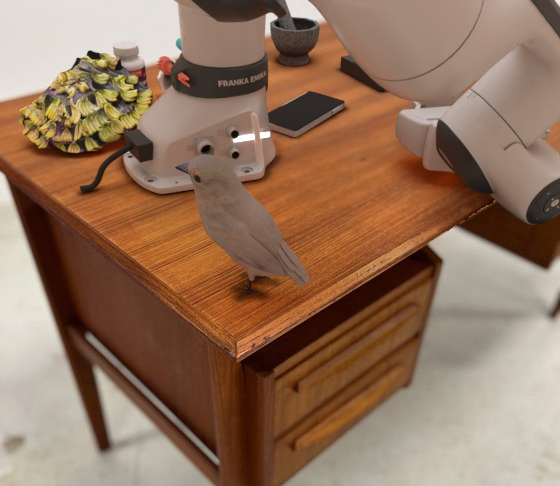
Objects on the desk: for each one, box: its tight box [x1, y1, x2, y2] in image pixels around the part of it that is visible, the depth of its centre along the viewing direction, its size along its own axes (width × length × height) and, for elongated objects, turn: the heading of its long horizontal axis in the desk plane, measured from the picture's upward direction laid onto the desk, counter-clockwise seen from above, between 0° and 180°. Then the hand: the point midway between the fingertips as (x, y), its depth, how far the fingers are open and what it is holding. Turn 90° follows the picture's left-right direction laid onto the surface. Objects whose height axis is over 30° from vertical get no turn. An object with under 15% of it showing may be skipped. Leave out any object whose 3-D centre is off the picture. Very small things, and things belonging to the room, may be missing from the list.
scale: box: [339, 54, 386, 93], centre depth 111 cm, size 15×13×4 cm
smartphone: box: [268, 90, 346, 138], centre depth 96 cm, size 8×1×15 cm
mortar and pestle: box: [269, 0, 321, 67], centre depth 113 cm, size 11×9×12 cm
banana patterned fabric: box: [18, 49, 154, 154], centre depth 86 cm, size 20×16×6 cm
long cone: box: [156, 56, 177, 95], centre depth 106 cm, size 6×6×19 cm
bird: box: [175, 154, 311, 298], centre depth 57 cm, size 5×14×15 cm, turn 72°
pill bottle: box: [112, 40, 149, 87], centre depth 95 cm, size 5×5×10 cm
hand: (444, 103), depth 87 cm, fingers open, 8 cm apart
